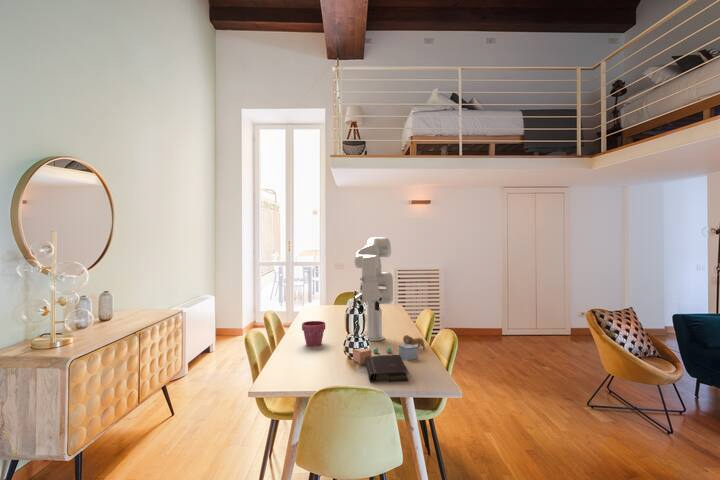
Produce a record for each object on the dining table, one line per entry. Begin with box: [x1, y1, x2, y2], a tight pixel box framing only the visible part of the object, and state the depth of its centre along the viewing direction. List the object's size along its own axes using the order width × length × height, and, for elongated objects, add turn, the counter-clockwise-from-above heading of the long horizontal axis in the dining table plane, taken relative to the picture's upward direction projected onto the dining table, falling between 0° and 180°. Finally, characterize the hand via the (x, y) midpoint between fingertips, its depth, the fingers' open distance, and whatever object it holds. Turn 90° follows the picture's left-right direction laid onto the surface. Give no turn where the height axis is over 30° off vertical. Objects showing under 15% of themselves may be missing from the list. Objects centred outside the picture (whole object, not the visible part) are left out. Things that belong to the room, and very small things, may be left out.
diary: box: [365, 354, 410, 383], centre depth 186 cm, size 19×25×5 cm
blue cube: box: [398, 344, 419, 361], centre depth 208 cm, size 7×7×6 cm
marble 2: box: [385, 346, 393, 354], centre depth 217 cm, size 3×3×3 cm
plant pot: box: [301, 320, 326, 347], centre depth 235 cm, size 14×14×13 cm
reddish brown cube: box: [352, 347, 372, 365], centre depth 202 cm, size 7×7×6 cm
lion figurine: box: [402, 334, 426, 351], centre depth 222 cm, size 15×5×9 cm, turn 114°
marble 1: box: [372, 347, 379, 354], centre depth 216 cm, size 3×3×3 cm
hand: (369, 311), depth 208 cm, fingers open, 9 cm apart
